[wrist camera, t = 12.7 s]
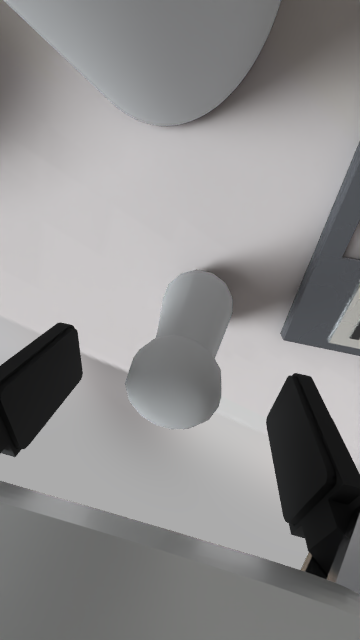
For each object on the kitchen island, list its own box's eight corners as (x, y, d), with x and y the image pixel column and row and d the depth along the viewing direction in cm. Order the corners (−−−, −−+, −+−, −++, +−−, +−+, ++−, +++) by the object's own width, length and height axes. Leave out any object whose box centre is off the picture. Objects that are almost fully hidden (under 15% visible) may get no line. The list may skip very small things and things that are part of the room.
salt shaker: (245, 290, 19) (276, 407, 8) (206, 333, 22) (186, 467, 11) (192, 250, 19) (142, 314, 7) (158, 299, 21) (81, 404, 10)
